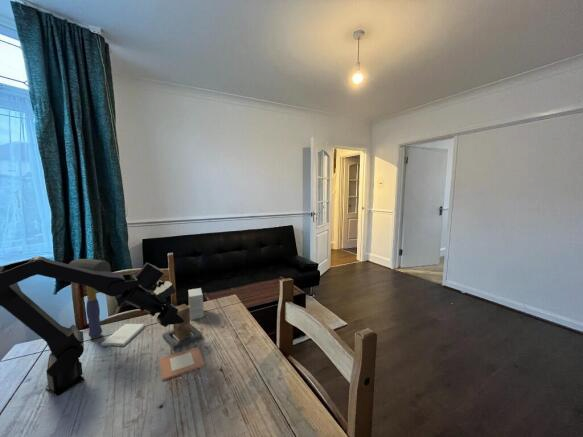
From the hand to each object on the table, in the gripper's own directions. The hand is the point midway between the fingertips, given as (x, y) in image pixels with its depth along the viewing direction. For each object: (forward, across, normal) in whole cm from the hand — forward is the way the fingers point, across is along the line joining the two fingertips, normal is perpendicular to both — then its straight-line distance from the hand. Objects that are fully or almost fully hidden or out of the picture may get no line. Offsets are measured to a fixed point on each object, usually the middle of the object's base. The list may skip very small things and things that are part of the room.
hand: (178, 317), depth 91 cm
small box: (+15, +13, -2) cm, 20 cm away
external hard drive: (-3, +17, +16) cm, 24 cm away
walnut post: (+7, 0, +5) cm, 9 cm away
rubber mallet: (-9, +24, +21) cm, 33 cm away
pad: (+3, -13, +10) cm, 17 cm away
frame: (+7, 0, +5) cm, 9 cm away
